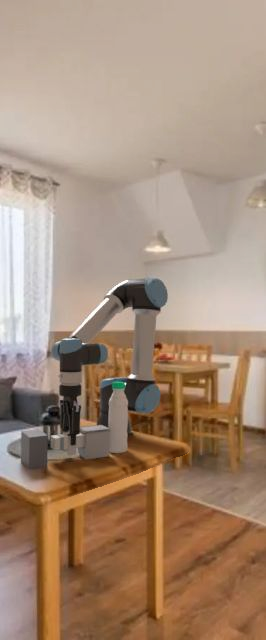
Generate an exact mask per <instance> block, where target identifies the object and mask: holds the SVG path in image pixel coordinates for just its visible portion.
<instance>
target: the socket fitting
mask: <svg viewBox="0 0 266 640" xmlns="http://www.w3.org/2000/svg"><path fill="white" fill-rule="evenodd" d="M20 432H21V435H20V436H21V437H20V439H21V440H20V462H22V464H23V465H24V466H25V467H26V468H27V469H29V470H32V469H37V468H44V467H48V445H49V444H48V440H49V439H48V438H49V436H48V434H47V433H45V432H44V431H42V430H40V429H29V430H22V431H20Z"/></svg>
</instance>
